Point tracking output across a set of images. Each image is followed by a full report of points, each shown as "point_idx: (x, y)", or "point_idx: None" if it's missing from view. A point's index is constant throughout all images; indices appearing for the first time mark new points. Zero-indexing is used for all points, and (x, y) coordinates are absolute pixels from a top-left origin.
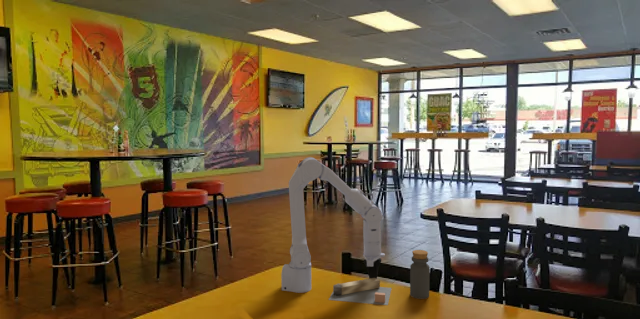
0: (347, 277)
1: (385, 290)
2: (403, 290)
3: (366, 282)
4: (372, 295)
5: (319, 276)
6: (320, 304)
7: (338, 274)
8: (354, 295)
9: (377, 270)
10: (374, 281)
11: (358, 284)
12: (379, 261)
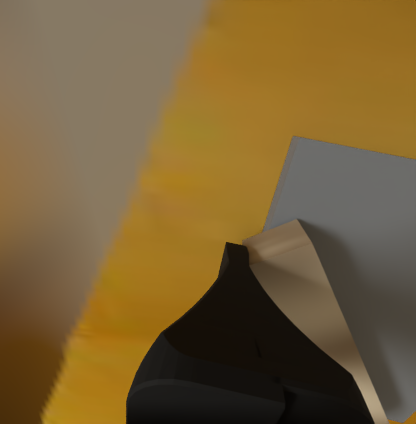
0: (107, 320)
1: (343, 186)
2: (277, 38)
3: (339, 326)
4: (409, 269)
5: (120, 393)
6: (392, 420)
7: (82, 343)
8: (382, 343)
9: (273, 301)
10: (326, 279)
11: (364, 366)
12: (301, 410)
